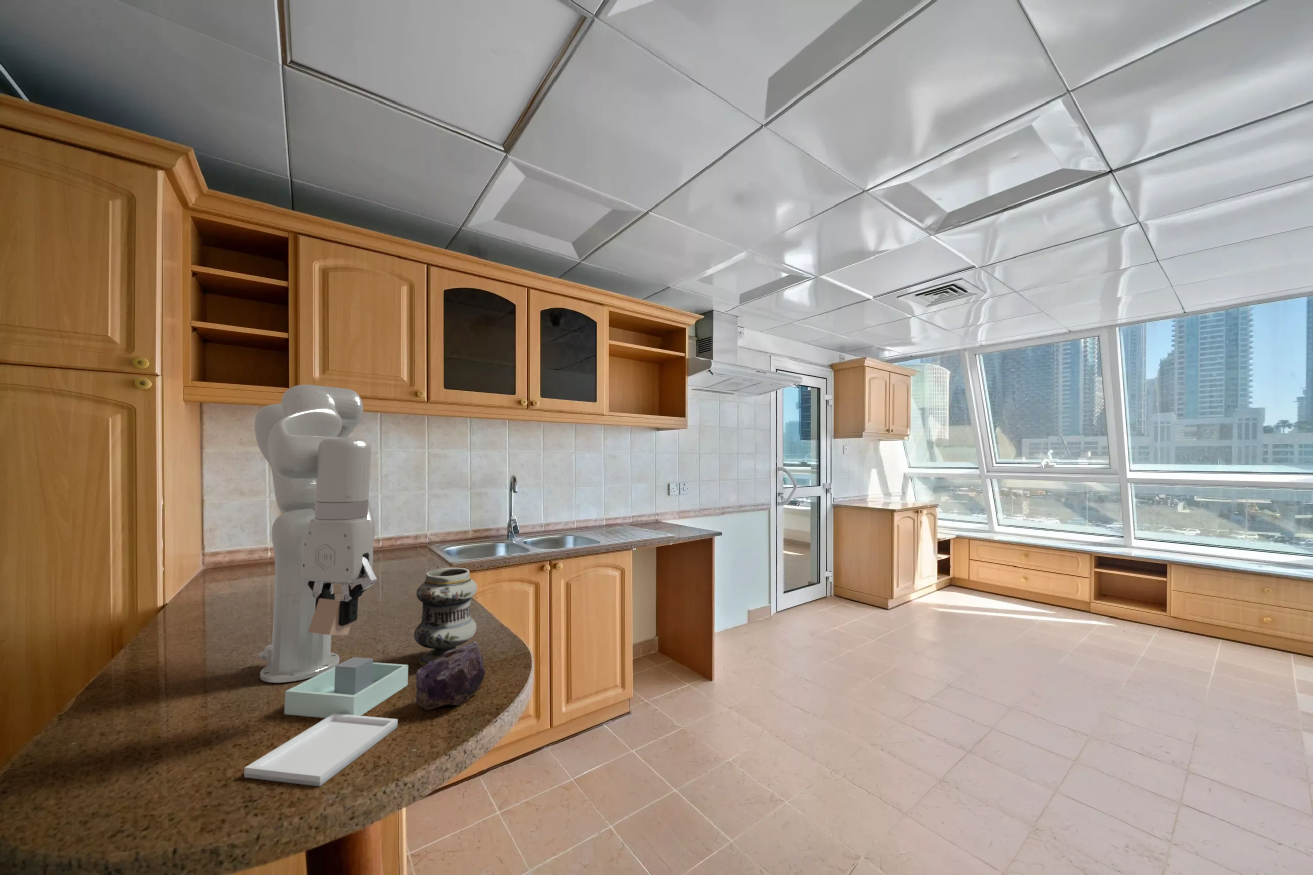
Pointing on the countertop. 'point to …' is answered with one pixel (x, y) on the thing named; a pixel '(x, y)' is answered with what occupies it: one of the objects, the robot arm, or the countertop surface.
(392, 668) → the seafoam storage bin
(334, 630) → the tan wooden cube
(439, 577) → the apothecary jar
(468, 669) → the rock
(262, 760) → the tray
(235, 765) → the countertop surface
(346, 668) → the matte grey cube
